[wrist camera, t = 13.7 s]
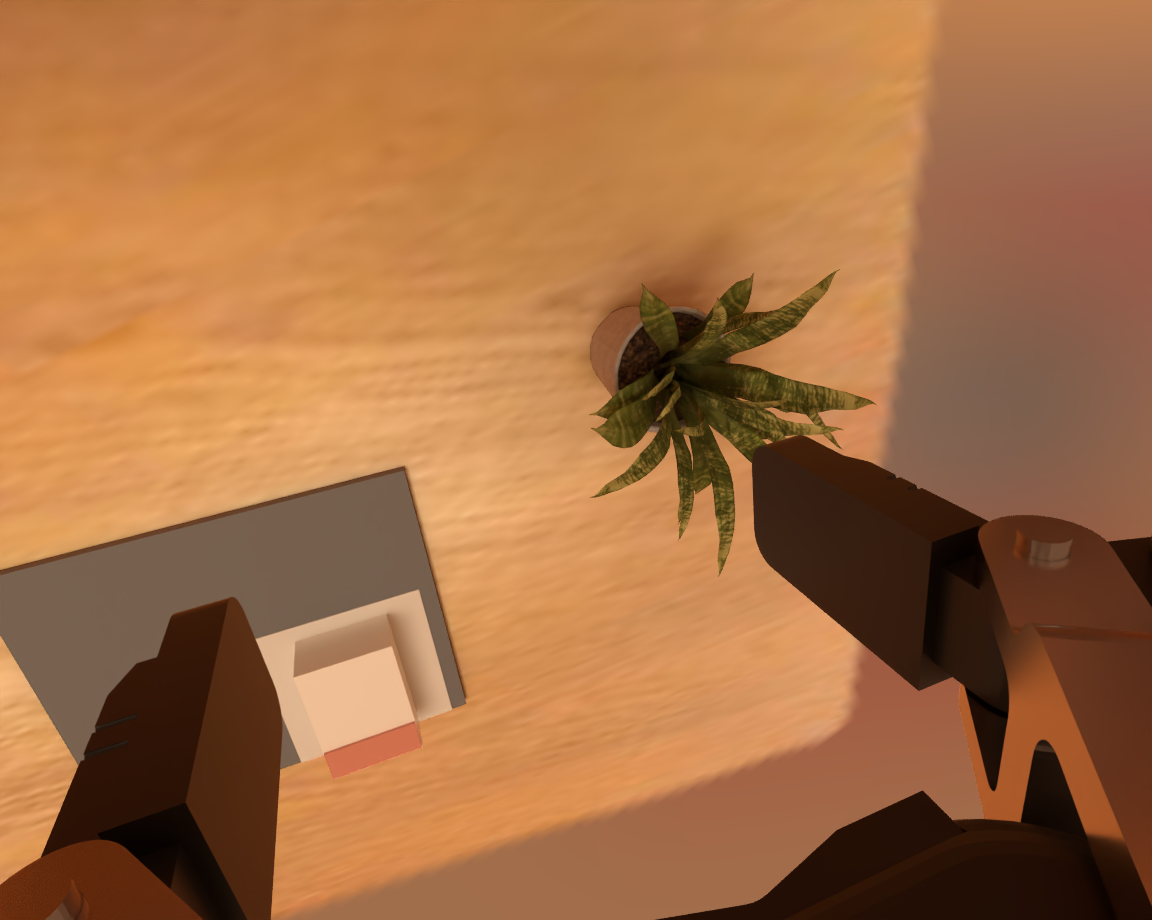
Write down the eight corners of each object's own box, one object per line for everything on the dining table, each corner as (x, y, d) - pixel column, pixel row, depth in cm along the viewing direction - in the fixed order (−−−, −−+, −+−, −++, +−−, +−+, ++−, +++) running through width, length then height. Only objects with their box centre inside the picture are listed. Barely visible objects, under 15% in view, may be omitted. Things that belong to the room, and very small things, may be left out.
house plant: (560, 508, 45) (673, 657, 31) (462, 321, 39) (547, 399, 25) (740, 402, 47) (925, 497, 33) (675, 207, 41) (869, 219, 26)
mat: (118, 819, 43) (115, 828, 42) (-26, 577, 35) (-32, 584, 35) (464, 698, 48) (466, 704, 48) (403, 466, 41) (404, 471, 40)
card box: (295, 641, 42) (293, 680, 38) (386, 613, 43) (392, 648, 40) (332, 738, 45) (333, 782, 42) (416, 709, 46) (423, 749, 43)
